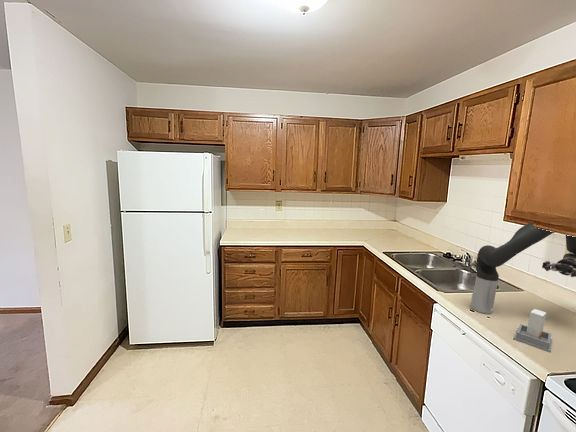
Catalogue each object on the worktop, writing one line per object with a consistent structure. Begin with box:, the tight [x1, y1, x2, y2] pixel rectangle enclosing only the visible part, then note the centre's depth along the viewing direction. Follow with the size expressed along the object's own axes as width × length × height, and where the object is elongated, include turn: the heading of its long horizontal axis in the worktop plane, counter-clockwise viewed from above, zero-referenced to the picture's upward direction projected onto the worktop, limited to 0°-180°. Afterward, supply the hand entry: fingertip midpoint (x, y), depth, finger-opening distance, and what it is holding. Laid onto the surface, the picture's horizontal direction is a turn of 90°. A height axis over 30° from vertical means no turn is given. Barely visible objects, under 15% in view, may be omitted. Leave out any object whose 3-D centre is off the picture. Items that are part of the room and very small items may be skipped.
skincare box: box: [526, 308, 547, 339], centre depth 127 cm, size 6×4×12 cm
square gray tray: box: [513, 323, 553, 353], centre depth 128 cm, size 12×12×3 cm
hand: (559, 271), depth 132 cm, fingers open, 8 cm apart
